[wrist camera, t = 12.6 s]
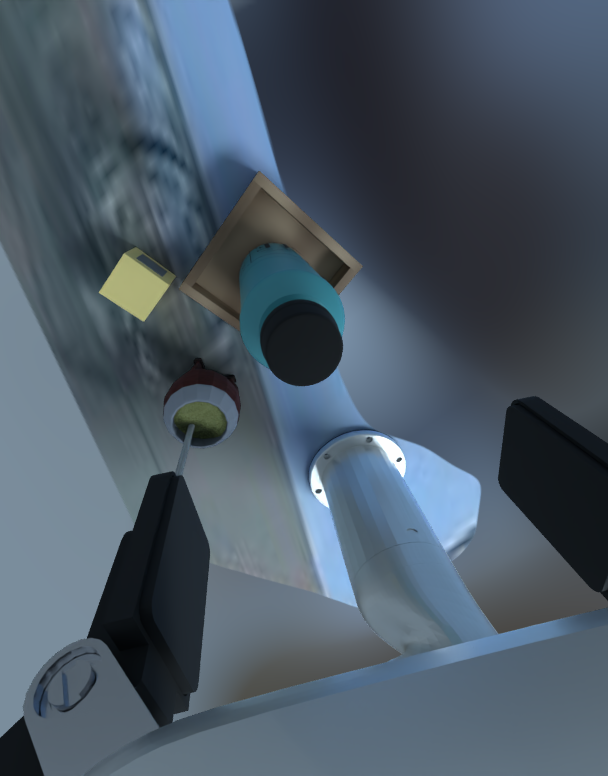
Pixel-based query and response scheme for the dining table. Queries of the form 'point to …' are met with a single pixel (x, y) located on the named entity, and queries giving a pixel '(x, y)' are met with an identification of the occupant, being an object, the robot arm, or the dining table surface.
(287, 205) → the tray
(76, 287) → the dining table surface
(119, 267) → the pale yellow cube
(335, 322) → the beverage bottle
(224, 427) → the mate gourd
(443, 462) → the dining table surface
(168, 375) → the dining table surface
